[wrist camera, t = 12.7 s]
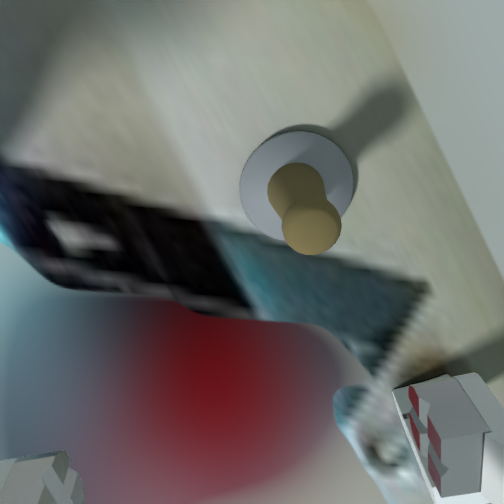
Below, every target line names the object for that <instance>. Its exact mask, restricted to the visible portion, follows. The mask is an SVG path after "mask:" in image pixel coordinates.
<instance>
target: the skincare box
mask: <svg viewBox="0 0 504 504" xmlns="http://www.w3.org/2000/svg"><path fill="white" fill-rule="evenodd" d="M447 377H450V376H449V375H448V374H445V375H442V376H439V377H437V378H433V379H430V380H427V381H432V380H437V379H442V378H447ZM427 381H424V382H427ZM421 383H422V382H421ZM408 389H409V386H406V387H402V388H398V389H394V390H393V391H392V393H393V396H394V399H395V403H396V406H397V409H398V413H399V416H400V419H401V421H402V424H403V426H404V429H405V431H406V434H407V436H408V439H409V441H410V444H411V446H412V449H413V451H414V454H415V456H416V459H417V461H418V464H419V467H420V469H421V472H422V474H423V477H424V479H425V482H426V484H427V487H428V489H429V492H430V494H431V497H432V499H433V502H434V504H486V503H490V501H489V500H488V499H486V498H485V497H484V496H483V495H481V492H477V493H470V494H464V495H457V496H450V497H444V498H441V497H440V494H439V492H438V490H437V488H436V486H435V484H434V482H433V480H432V477H431V475H430V473H429V471H428V458H427V457H425V456H424V455H422V454H421V453H420V451H419V449H418V447H417V445H416V442H415V439H414V436H413V433H412V429H411V424H410V416H409V411H410V410H411V408H412V407H413V406H412V403H411V401H410V399H409V395H408Z"/></svg>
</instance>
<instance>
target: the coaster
mask: <svg viewBox="0 0 504 504" xmlns="http://www.w3.org/2000/svg"><path fill="white" fill-rule="evenodd" d="M295 162H297V163H305V164H308V165H310V166H312V167H313V168H315V169H316V170H317V171H318V172H319V174H320V176H321V177H322V179H323V183H324V188H325V192H326V197H327V200H328V201H329V202H330V203H332V204H333V205H334V206H335V208H336V209H337V211H338V213H339V215H340V218H341V217H342V216H343V215H344V213H345V212H346V210H347V208H348V206H349V203H350V201H351V197H352V194H353V173H352V169H351V166H350V164H349V161H348V159H347V158H346V156H345V155H344V153H343V152H342V151H341V150H340V149H339V147H338V146H337V145H336V144H334V143H333V142H332V141H331V140H329V139H328V138H326V137H324V136H322V135H319V134H317V133H313V132H308V131H290V132H285V133H282V134H279V135H276V136H274V137H272V138H270V139H268V140H267V141H265V142H264V143H262V144H261V145H260V146H259V147H258V148H257V149H256V150H255V151H254V152H253V153H252V154H251V156H250V157H249V159H248V160H247V162H246V164H245V166H244V168H243V171H242V175H241V179H240V197H241V203H242V206H243V209H244V211H245V213H246V215H247V217H248V218H249V220H250V221H251V222H252V224H253V225H254V226H255V227H256V228H257V229H259V230H260V231H261V232H263V233H264V234H266V235H268V236H270V237H273V238H275V239H279V240H283V241H286V240H285V239H284V237H283V232H282V227H281V225H282V220H281V218H280V217H279V216H278V214H277V213H276V211H275V210H274V209H273V207H272V205H271V204H270V202H269V200H268V195H267V188H268V183H269V181H270V179H271V177H272V175H273V174H274V173H275V172H276V171H277V170H278V169H279V168H281V167H283V166H284V165H286V164H290V163H295Z"/></svg>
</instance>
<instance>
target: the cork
mask: <svg viewBox="0 0 504 504" xmlns="http://www.w3.org/2000/svg"><path fill="white" fill-rule="evenodd" d="M267 195H268V200H269V202H270V204H271V205H272V207H273V209H274V210H275V211H276V213H277V214H278V216H279V217H280V218H281V220H282V225H281V227H282V232H283V237H284V239H285V240H286V242H287V244H288V245H289V246H290V247H291V248H293V249H294V250H295V251H296V252H299V253H302V254H305V255H315V254H320V253H323V252H324V251H326V250H328V249H330V248H331V247H332V246H333V245H334V244H335V243H336V241H337V240H338V238H339V236H340V232H341V218H340V215H339V213H338V211H337V209H336V208H335V206H334V205H333V204H332V203H330V202H329V201H328V200H327V197H326V192H325V188H324V183H323V179H322V177H321V176H320V174H319V172H318V171H317V170H316V169H315V168H313V167H312V166H310V165H308V164H305V163H297V162H295V163H290V164H286V165H284V166H283V167H281V168H279V169H278V170H277V171H276V172H275V173H274V174H273V175H272V177H271V179H270V181H269V183H268V188H267Z"/></svg>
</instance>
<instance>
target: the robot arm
mask: <svg viewBox="0 0 504 504" xmlns="http://www.w3.org/2000/svg"><path fill="white" fill-rule="evenodd" d="M408 395H409V399H410V401H411V403H412V406H413V407H412V408H411V410H410V411H409V416H410V424H411V429H412V433H413V436H414V439H415V442H416V445H417V447H418V449H419V451H420V453H421V454H422V455H424V456H425V457H427V458H428V471H429V473H430V475H431V477H432V480H433V482H434V484H435V486H436V488H437V490H438V492H439V494H440V497H441V498H444V497H450V496H457V495H464V494H470V493H477V492H481V495H483V496H484V497H485V498H486V499H488V500H489V501H490V502H491V503H492V504H504V408H503V407H502V405H501V404H500V403H499V401H498V400H497V399H496V397H495V396H494V394H493V393H492V392H491V390H490V389H489V388H488V386H487V385H486V384H485V382H484V381H483V379H482V378H481V377H480V375H478V374H477V373H475V372H473V373H468V374H463V375H458V376H453V377H447V378H442V379H437V380H432V381H427V382H422V383H417V384H412V385H409V389H408ZM70 462H71V459H70V458H69V456H68V455H67V453H66V451H56V452H49V453H43V454H37V455H31V456H24V457H20V458H14V459H8V460H2V461H0V504H83V503H84V488H83V484H82V480H81V478H80V476H79V474H78V473H77V472H75V471H74V470H72V469H70V468H69V465H70Z"/></svg>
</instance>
